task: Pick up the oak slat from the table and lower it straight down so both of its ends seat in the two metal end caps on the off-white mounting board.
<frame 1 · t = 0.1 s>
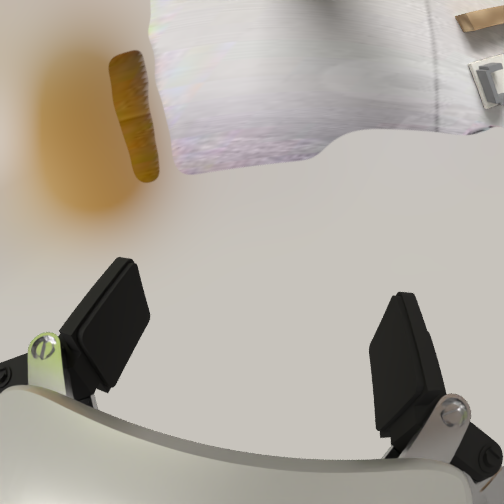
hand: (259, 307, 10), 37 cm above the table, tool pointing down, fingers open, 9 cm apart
slat: (487, 17, 21), on the table
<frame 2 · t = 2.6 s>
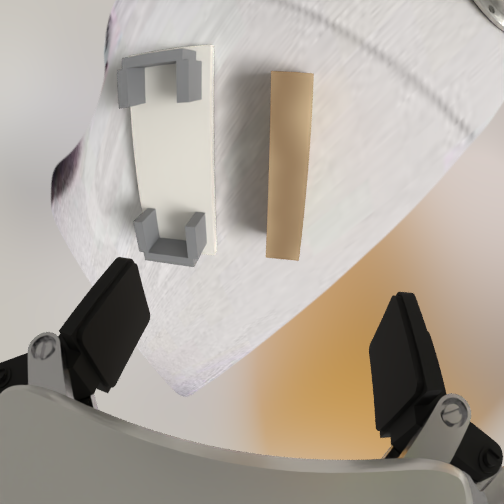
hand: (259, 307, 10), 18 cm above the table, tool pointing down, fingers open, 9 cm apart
mounting board: (174, 155, 26), on the table
slat: (290, 160, 25), on the table
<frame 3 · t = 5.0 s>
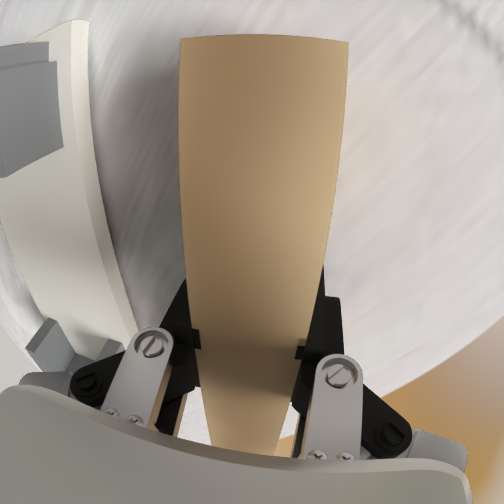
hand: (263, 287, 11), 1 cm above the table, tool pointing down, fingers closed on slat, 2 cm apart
mounting board: (59, 246, 13), on the table
slat: (264, 285, 11), on the table, touching gripper
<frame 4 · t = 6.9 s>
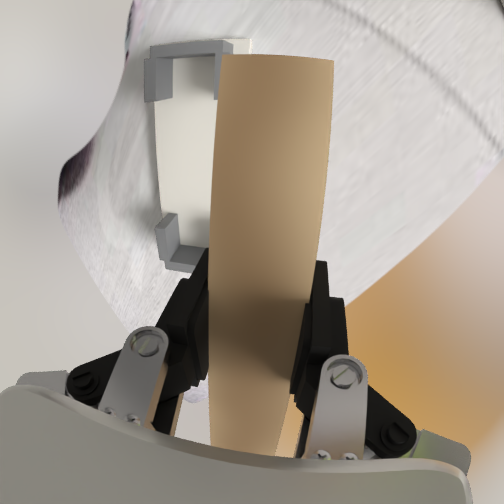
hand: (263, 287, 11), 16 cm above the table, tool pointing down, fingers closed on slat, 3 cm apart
mounting board: (201, 156, 24), on the table
slat: (267, 280, 13), point 14 cm above the table, tilted 17°, touching gripper
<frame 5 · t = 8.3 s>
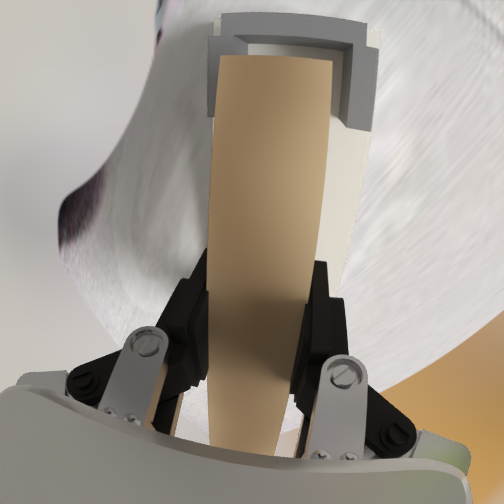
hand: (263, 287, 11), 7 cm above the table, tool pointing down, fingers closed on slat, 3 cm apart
mounting board: (285, 205, 17), on the table
slat: (266, 281, 12), point 6 cm above the table, tilted 17°, touching gripper
when the fingers open (4 cm above the table, at t = 9.2 s): slat drops 2 cm, resting on mounting board.
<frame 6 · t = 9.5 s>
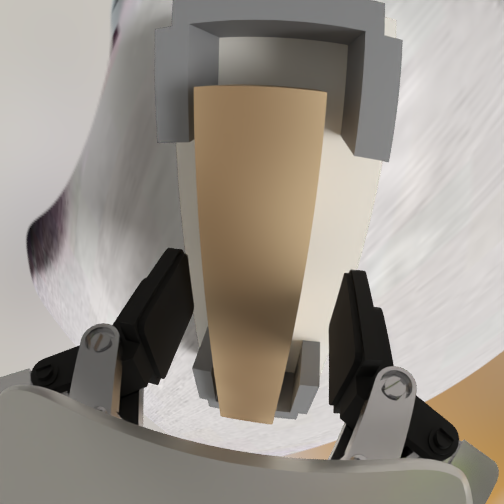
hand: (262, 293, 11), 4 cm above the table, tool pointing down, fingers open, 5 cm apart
mounting board: (272, 243, 14), on the table
slat: (264, 270, 13), point 1 cm above the table, touching mounting board
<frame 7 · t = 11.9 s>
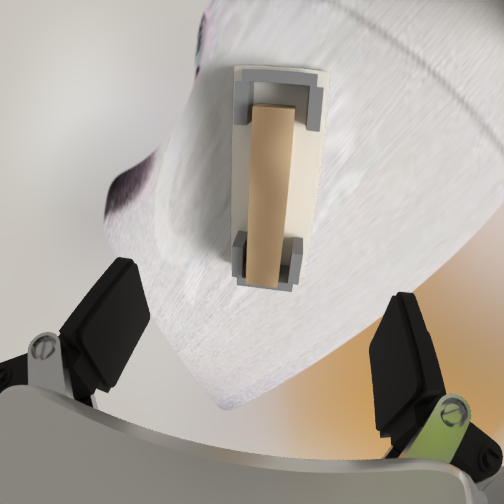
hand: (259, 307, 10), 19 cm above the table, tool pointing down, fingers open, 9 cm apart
mounting board: (275, 178, 26), on the table
slat: (271, 190, 26), point 1 cm above the table, touching mounting board
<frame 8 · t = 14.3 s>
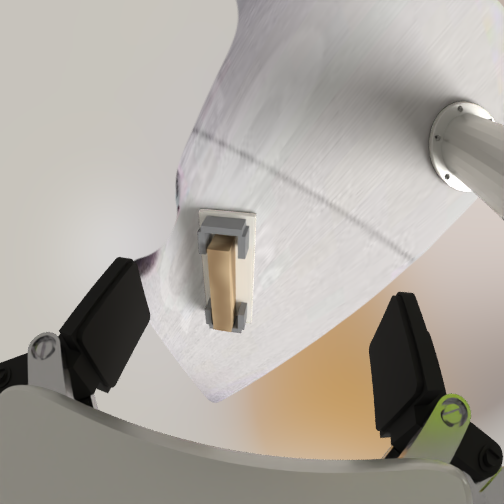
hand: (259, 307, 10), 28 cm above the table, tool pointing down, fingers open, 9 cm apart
mounting board: (228, 270, 46), on the table
slat: (226, 278, 46), point 1 cm above the table, touching mounting board
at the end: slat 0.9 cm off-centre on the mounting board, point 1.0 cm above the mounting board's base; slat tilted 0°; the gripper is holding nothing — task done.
